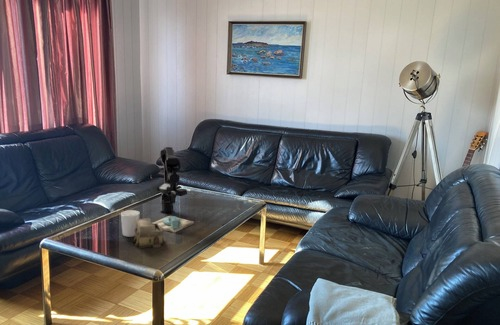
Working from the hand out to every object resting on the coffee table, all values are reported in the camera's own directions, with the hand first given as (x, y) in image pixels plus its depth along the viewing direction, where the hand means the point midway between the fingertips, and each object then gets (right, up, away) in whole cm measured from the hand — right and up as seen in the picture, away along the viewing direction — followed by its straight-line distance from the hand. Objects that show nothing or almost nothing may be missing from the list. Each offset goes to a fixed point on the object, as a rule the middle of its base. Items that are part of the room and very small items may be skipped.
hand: (171, 203), depth 237 cm
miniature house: (-6, -18, -29) cm, 34 cm away
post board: (0, -12, -2) cm, 12 cm away
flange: (+2, -11, -5) cm, 12 cm away
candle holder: (-19, -15, -18) cm, 30 cm away
